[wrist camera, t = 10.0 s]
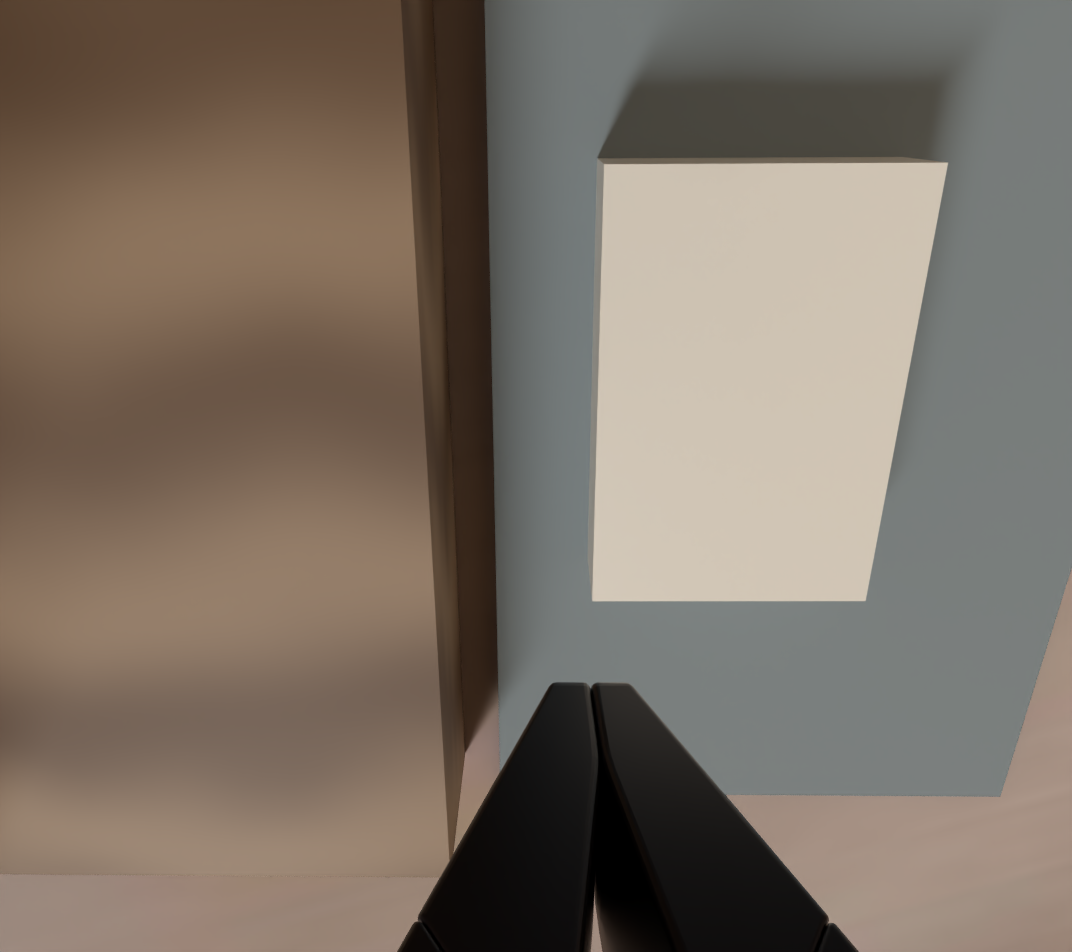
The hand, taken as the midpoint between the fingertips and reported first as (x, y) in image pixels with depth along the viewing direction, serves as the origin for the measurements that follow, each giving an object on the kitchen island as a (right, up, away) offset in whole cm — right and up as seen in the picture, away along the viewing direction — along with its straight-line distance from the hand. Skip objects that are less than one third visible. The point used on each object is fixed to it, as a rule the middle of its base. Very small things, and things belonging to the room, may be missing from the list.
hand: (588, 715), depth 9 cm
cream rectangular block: (+4, +4, +7) cm, 9 cm away
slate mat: (+6, +5, +10) cm, 12 cm away
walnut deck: (-9, +5, +10) cm, 14 cm away
